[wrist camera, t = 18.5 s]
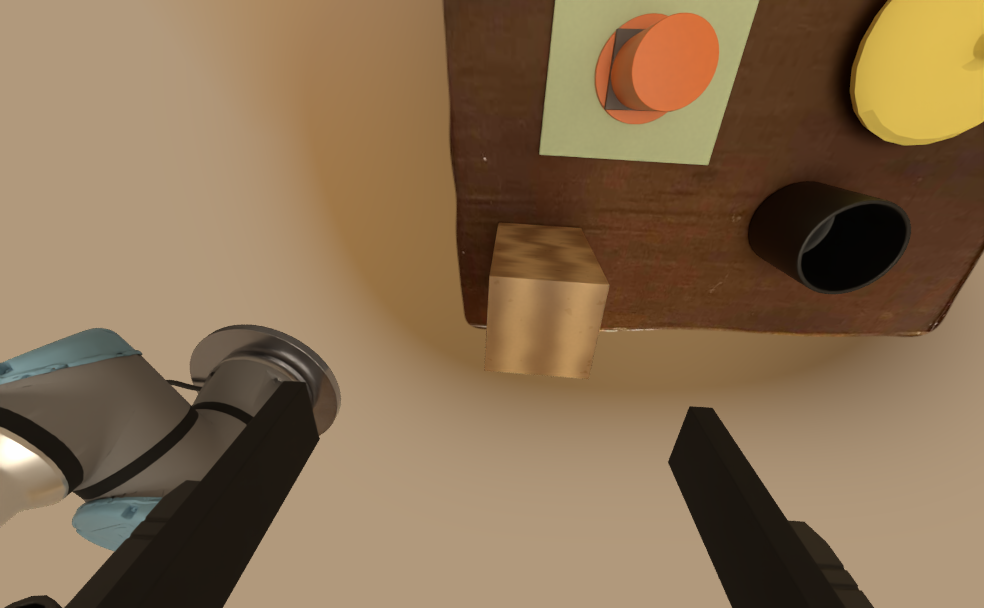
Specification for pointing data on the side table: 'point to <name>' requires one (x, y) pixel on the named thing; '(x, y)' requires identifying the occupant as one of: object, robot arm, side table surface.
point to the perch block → (543, 302)
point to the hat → (655, 66)
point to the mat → (573, 100)
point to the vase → (921, 71)
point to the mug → (829, 236)
